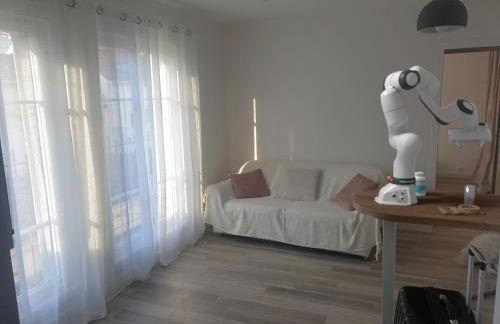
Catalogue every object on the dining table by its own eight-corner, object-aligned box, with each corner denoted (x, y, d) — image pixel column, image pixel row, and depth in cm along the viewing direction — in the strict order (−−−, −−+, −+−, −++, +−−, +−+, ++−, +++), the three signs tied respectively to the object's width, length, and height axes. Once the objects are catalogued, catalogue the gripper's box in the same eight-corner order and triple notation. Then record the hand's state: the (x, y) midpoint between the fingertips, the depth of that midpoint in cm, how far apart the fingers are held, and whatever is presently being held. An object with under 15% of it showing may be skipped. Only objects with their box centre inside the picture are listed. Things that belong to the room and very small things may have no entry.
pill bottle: (414, 192, 223) (414, 170, 221) (427, 194, 218) (427, 171, 216) (410, 195, 217) (410, 173, 215) (423, 197, 213) (424, 174, 211)
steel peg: (466, 207, 190) (467, 186, 188) (462, 205, 194) (463, 184, 192) (475, 207, 189) (476, 186, 187) (471, 204, 193) (472, 184, 192)
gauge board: (444, 214, 180) (444, 209, 179) (437, 208, 190) (437, 204, 189) (484, 214, 177) (484, 209, 176) (475, 208, 187) (475, 204, 186)
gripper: (447, 125, 207) (447, 145, 200) (491, 123, 197) (492, 143, 190) (448, 132, 212) (448, 151, 205) (490, 130, 202) (491, 150, 195)
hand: (469, 148), depth 198 cm, fingers open, 8 cm apart
